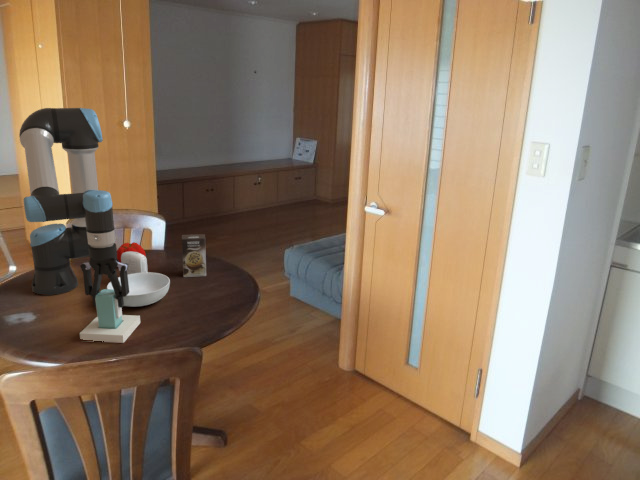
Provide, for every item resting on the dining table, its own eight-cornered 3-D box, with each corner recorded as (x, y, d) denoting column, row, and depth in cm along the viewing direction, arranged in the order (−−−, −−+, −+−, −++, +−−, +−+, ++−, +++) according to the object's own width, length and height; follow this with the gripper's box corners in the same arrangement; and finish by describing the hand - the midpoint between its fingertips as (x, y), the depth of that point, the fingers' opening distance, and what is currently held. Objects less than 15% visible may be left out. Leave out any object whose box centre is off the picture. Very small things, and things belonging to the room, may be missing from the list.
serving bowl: (126, 287, 185) (124, 270, 183) (179, 291, 183) (178, 274, 181) (96, 311, 166) (94, 292, 164) (156, 316, 164) (154, 297, 162)
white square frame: (80, 340, 147) (79, 333, 146) (100, 320, 159) (99, 313, 158) (123, 342, 146) (122, 335, 145) (140, 322, 159) (139, 315, 158)
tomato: (118, 261, 211) (116, 241, 208) (147, 260, 214) (146, 240, 211) (114, 270, 201) (112, 249, 198) (145, 268, 204) (143, 248, 201)
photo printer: (150, 282, 190) (148, 252, 187) (142, 286, 186) (140, 255, 183) (128, 278, 194) (126, 248, 190) (121, 282, 190) (118, 251, 186)
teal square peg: (99, 331, 150) (95, 295, 146) (106, 324, 155) (102, 289, 151) (115, 332, 150) (112, 296, 146) (122, 324, 155) (119, 289, 151)
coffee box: (183, 277, 196) (181, 239, 191) (183, 271, 202) (181, 234, 197) (206, 276, 198) (205, 238, 193) (206, 270, 204) (204, 233, 199)
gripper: (64, 246, 141) (74, 320, 148) (127, 249, 140) (134, 322, 147) (77, 239, 148) (86, 309, 155) (137, 241, 147) (143, 311, 155)
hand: (109, 315), depth 151 cm, fingers closed on teal square peg, 5 cm apart
